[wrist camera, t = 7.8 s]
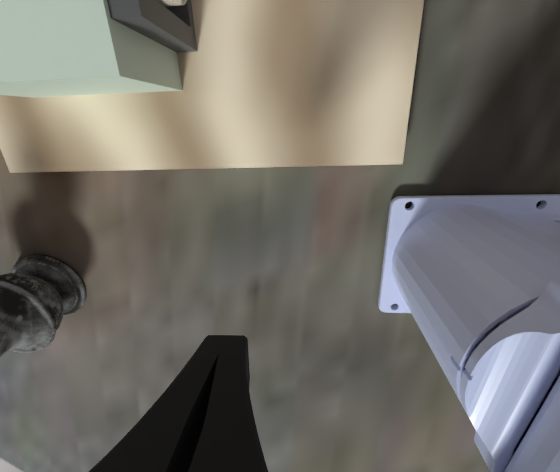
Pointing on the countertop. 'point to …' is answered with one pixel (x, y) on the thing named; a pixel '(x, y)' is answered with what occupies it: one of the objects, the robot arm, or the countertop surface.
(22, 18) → the collar block
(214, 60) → the maple board
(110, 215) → the countertop surface
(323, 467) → the countertop surface
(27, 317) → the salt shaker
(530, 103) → the countertop surface
